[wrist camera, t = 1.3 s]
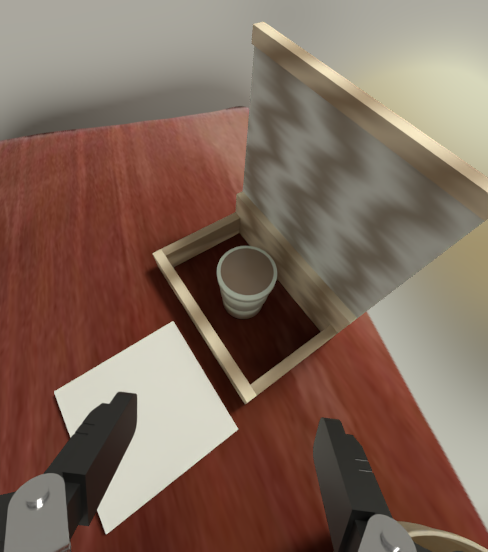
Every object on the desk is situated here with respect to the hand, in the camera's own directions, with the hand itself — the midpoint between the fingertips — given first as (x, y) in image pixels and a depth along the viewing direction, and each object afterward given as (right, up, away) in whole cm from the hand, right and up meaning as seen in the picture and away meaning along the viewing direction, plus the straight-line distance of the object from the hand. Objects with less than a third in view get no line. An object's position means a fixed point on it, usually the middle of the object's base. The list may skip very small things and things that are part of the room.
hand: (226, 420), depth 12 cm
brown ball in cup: (+1, +3, +24) cm, 25 cm away
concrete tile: (-10, -8, +18) cm, 22 cm away
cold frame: (+1, +3, +24) cm, 25 cm away
